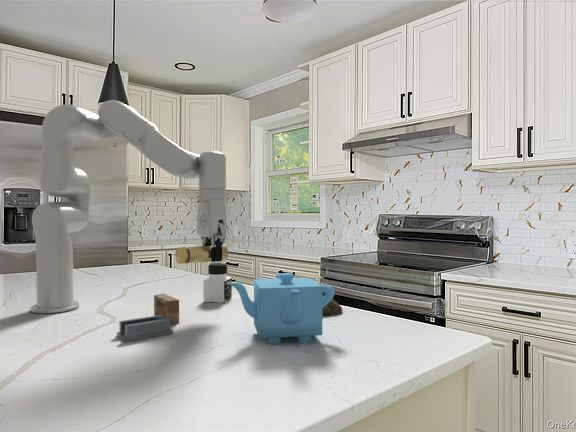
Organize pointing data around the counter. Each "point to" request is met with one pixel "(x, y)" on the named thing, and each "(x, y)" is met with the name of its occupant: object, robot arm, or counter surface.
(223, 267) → the medicine bottle
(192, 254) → the axle
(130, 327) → the cradle
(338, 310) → the bread roll
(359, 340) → the counter surface
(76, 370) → the counter surface
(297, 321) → the teakettle
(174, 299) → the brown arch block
